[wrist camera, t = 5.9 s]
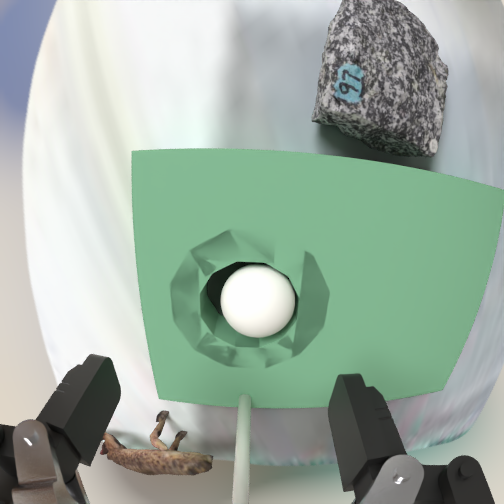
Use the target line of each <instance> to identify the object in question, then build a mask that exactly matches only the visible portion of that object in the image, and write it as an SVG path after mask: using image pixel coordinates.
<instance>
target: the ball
mask: <svg viewBox="0 0 504 504" xmlns="http://www.w3.org/2000/svg"><path fill="white" fill-rule="evenodd" d="M221 308H222V312H223V315H224V317H225V319H226V320H227V322H228V323H229V325H230V326H231V327H232V328H233V329H235V330H236V331H237V332H239V333H241V334H243V335H246V336H249V337H255V338H261V337H267V336H270V335H273V334H275V333H277V332H278V331H280V330H281V329H282V328H284V327H285V326H286V324H287V323H288V322H289V320H290V319H291V317H292V315H293V312H294V308H295V293H294V289H293V287H292V284H291V283H290V281H289V279H288V278H287V277H286V276H285V275H284V274H283V273H281V272H280V271H278V270H276V269H275V268H273V267H271V266H269V265H266V264H250V265H246V266H244V267H241V268H240V269H238V270H236V271H235V272H234V273H233V274H232V275H231V276H230V277H229V278H228V279H227V281H226V283H225V285H224V287H223V289H222V293H221Z"/></svg>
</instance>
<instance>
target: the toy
mask: <svg viewBox="0 0 504 504" xmlns="http://www.w3.org/2000/svg"><path fill="white" fill-rule="evenodd" d="M168 413H169V412H168V411H161V412H160V413H159V414H158V415H157V419H156V422H159V424H158V425H157V426H156V428H155V429H154V431H153V432H152V433H151V435H150V441H151V443H152V445H153V446H154V447H156V448H158V449H160V450H148V449H145V450H137V449H127V448H126V447H125V446H124V445H122V444H120V443H119V441H118V440H117V439H116V438H115V437H114V436H113V435H110V434H108V433H106V432H105V433H104V436H103V438H102V440H105V442H104V443H103V445H102V450H101V452H100V454H101V455H104V454H107V458H108V459H109V460H113V461H114V462H115V463H116V464H119V465H122V466H123V467H125V468H127V469H130V470H133V471H136V472H139V473H143V474H147V475H158V474H172V475H196V474H199V473H202V472H207V471H209V470H210V469H211V468H212V460H213V456H211V455H203V454H201V453H198V452H181V451H177V449H178V446H179V443H180V440H182V439H183V438H184V437H185V435H186V434H187V432H186V431H180V432H179V433H178V434H177V435H176V437H175V440H174V442H173V444H172V445H171V447H170V448H169V449H167V446H166V445H165V444H164V443H163V442H162V441H161V440H160V439H158V437H159V436H160V435H161V432H162V429H163V427H164V424H165V420H166V416H167V415H168ZM102 440H101V441H102Z"/></svg>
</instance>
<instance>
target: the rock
mask: <svg viewBox="0 0 504 504" xmlns="http://www.w3.org/2000/svg"><path fill="white" fill-rule="evenodd" d="M438 49H439V48H438V44H437V43H436V41H435V39H434V38H433V37H432V36H431V34H430V33H429V31H428V30H427V29H426V27H425V25H424V24H423V23H422V22H421V21H420V20H419V19H418V18H417V17H416V16H415V15H414V14H413V13H411V12H410V11H408V9H407V7H406V6H404V5H403V4H402V3H401V2H398V1H396V0H342V3H341V5H340V8H339V10H338V12H337V14H336V15H335V18H334V19H333V20H332V21H331V22H330V25H329V27H328V36H327V41H326V44H325V46H324V52H323V53H322V66H321V70H320V74H319V81H318V93H317V97H316V104H315V109H314V112H313V114H312V122H316V123H321V124H329V125H331V126H338V127H339V129H340V130H341V132H342V133H344V134H345V135H346V136H349V137H354V138H357V139H358V140H362V142H363V143H364V144H366V145H367V146H369V147H370V148H374V149H377V150H379V151H382V152H385V153H391V154H394V155H398V156H415V157H416V156H425V157H427V156H428V157H433V156H434V155H435V153H436V151H437V149H438V141H439V138H440V134H441V129H442V124H443V111H444V107H445V98H446V95H445V93H446V89H447V84H446V80H447V76H448V68H447V65H445V64H444V63H443V62H442V61H441V59H440V58H439V56H438Z"/></svg>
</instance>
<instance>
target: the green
mask: <svg viewBox="0 0 504 504" xmlns="http://www.w3.org/2000/svg"><path fill="white" fill-rule="evenodd" d="M132 207H133V227H134V241H135V254H136V264H137V274H138V283H139V291H140V299H141V306H142V313H143V320H144V326H145V332H146V338H147V344H148V349H149V355H150V360H151V365H152V370H153V375H154V379H155V384H156V388H157V392H158V397H159V399H163V400H170V401H177V402H185V403H193V404H203V405H214V406H227V407H238V404H239V396H240V395H243V394H247V395H249V396H250V397H251V408H314V407H328V406H329V401H330V398H331V395H332V392H333V389H334V386H335V382H336V379H337V376H338V375H339V374H354V373H360V374H361V375H362V377H363V380H364V382H365V385H366V387H370V386H374V387H375V388H376V389H377V390H378V391H379V392H380V393H381V394H382V395H383V397H384V399H385V401H388V400H394V399H400V398H406V397H412V396H417V395H422V394H427V393H432V392H437V391H441V390H443V388H444V386H445V384H446V383H447V381H448V379H449V377H450V375H451V373H452V371H453V369H454V367H455V365H456V362H457V360H458V358H459V356H460V354H461V352H462V349H463V347H464V345H465V342H466V340H467V338H468V335H469V333H470V330H471V328H472V325H473V323H474V320H475V317H476V315H477V312H478V309H479V306H480V303H481V300H482V297H483V294H484V291H485V288H486V285H487V281H488V278H489V274H490V271H491V267H492V263H493V259H494V255H495V251H496V247H497V242H498V237H499V232H500V227H501V222H502V216H503V209H504V190H502V189H499V188H496V187H492V186H489V185H485V184H481V183H478V182H474V181H470V180H466V179H462V178H458V177H454V176H450V175H445V174H441V173H436V172H432V171H427V170H422V169H417V168H412V167H406V166H401V165H395V164H389V163H383V162H377V161H370V160H363V159H356V158H348V157H340V156H331V155H322V154H312V153H300V152H288V151H272V150H252V149H159V150H139V151H132ZM237 261H238V262H261V263H267V264H268V265H270V266H271V267H273V268H275V269H276V270H278V271H280V272H281V273H283V274H285V275H286V276H288V277H289V279H290V281H291V283H292V285H293V289H294V293H295V308H294V312H293V315H292V317H291V319H290V320H289V322H288V323H287V324H286V326H285V327H284V328H282V329H281V330H280V331H278V332H277V333H275V334H273V335H270V336H267V337H261V338H255V337H249V336H246V335H243V334H241V333H239V332H237V331H236V330H235V329H233V328H232V327H231V326H230V325H229V323H228V322H227V320H226V319H225V317H224V316H223V315H221V314H219V313H218V312H217V310H216V309H215V307H214V305H213V304H212V302H211V301H210V299H209V298H208V296H207V281H208V280H209V278H210V276H211V275H212V273H214V272H216V271H218V270H220V269H222V268H224V267H226V266H228V265H231V264H233V263H235V262H237Z"/></svg>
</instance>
